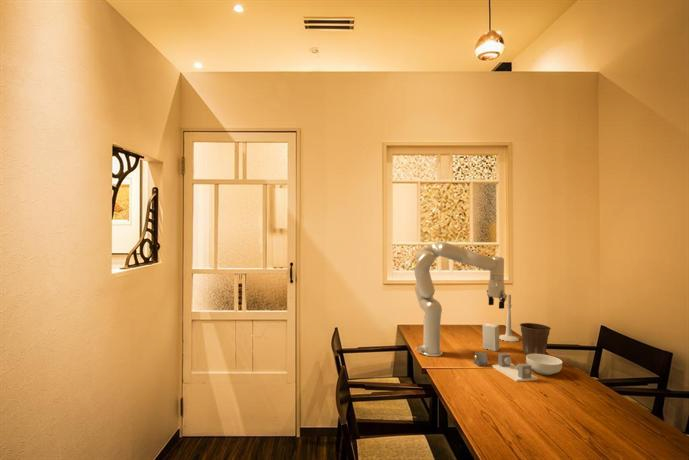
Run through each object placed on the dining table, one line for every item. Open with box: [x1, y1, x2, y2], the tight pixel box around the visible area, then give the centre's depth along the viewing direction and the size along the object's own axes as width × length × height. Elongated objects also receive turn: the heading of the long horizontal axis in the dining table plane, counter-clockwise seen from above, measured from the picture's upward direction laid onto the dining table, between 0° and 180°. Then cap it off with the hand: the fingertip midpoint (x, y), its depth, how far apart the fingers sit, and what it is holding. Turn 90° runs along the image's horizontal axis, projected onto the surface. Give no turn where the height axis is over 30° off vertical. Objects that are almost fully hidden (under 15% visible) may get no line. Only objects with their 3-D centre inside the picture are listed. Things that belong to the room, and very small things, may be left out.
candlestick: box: [499, 293, 520, 343], centre depth 255 cm, size 13×13×30 cm
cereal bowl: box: [525, 354, 563, 376], centre depth 198 cm, size 17×17×7 cm
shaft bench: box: [491, 352, 539, 383], centre depth 196 cm, size 12×20×7 cm, turn 13°
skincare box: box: [482, 322, 501, 352], centre depth 234 cm, size 8×6×15 cm
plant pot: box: [519, 322, 552, 355], centre depth 227 cm, size 16×16×16 cm
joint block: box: [473, 351, 488, 367], centre depth 208 cm, size 7×4×6 cm
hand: (496, 306), depth 228 cm, fingers open, 9 cm apart
